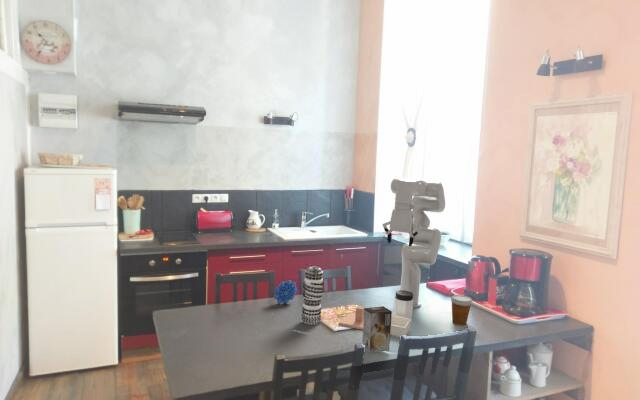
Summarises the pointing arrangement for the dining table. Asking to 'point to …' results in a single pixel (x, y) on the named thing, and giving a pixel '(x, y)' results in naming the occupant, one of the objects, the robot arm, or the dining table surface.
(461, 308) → the disposable coffee cup
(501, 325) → the dining table surface
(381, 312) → the coffee box
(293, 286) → the grapes
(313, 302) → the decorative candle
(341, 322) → the lid
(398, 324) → the dish
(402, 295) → the jar
